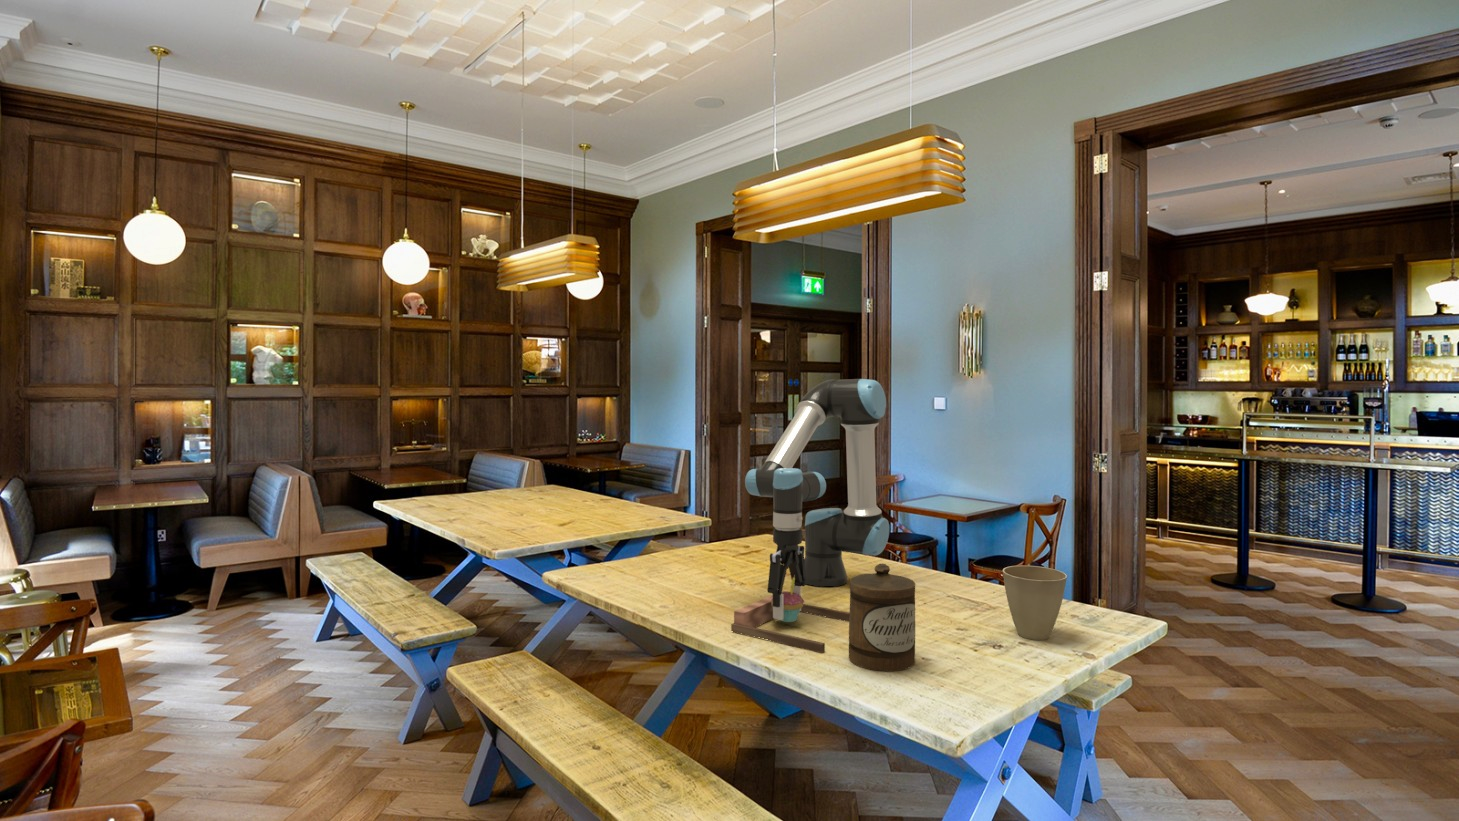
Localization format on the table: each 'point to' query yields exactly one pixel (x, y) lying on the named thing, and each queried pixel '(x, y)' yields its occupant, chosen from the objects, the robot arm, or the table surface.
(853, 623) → the wooden container
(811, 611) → the brown wooden open frame
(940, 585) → the table surface
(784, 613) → the cupcake
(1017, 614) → the plant pot
